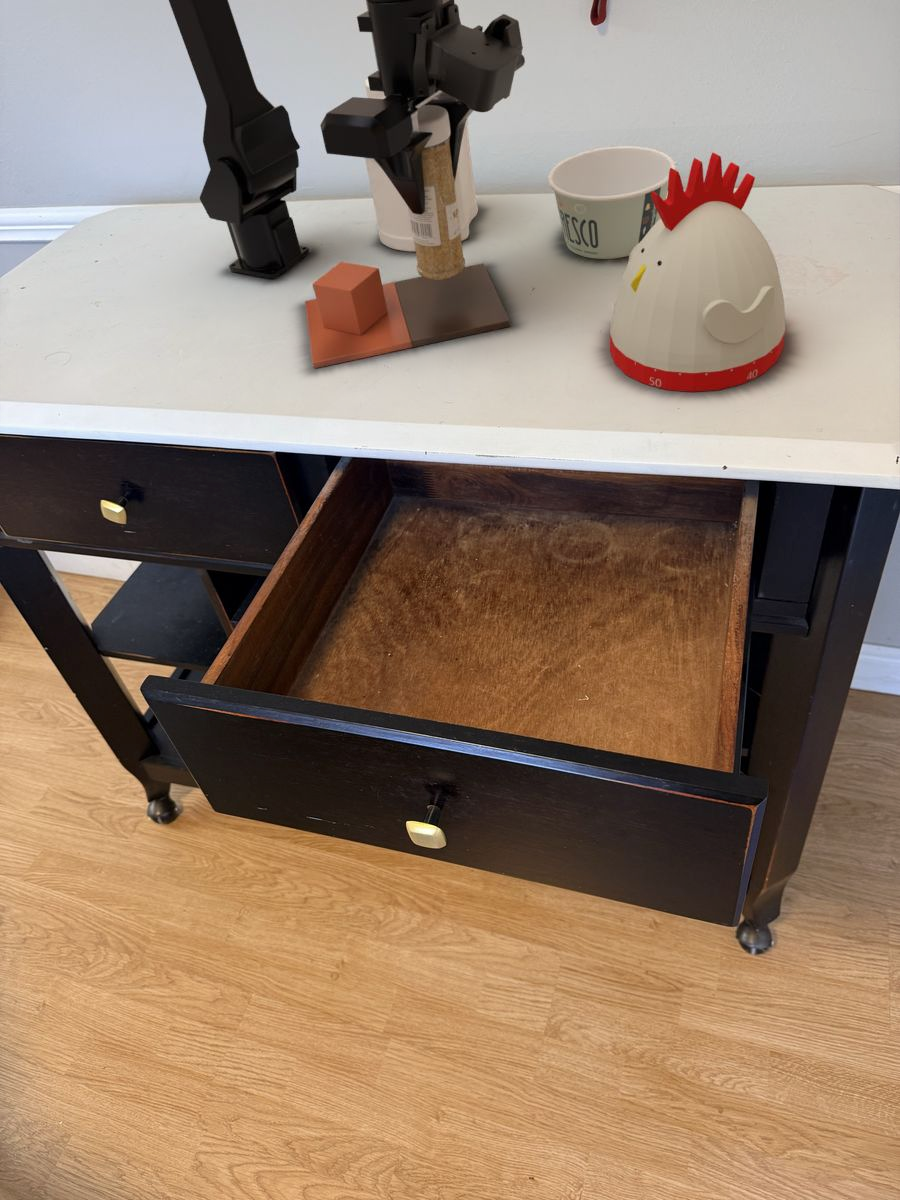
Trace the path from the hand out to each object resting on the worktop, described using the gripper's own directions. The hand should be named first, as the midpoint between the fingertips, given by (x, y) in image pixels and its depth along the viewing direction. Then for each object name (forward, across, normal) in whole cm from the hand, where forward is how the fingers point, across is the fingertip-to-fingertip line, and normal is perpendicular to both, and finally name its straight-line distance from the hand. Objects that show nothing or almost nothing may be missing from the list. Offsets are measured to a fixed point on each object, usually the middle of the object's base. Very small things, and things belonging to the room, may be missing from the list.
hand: (433, 201), depth 78 cm
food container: (+10, +17, -9) cm, 22 cm away
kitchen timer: (+10, +1, -24) cm, 26 cm away
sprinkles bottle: (+6, 0, 0) cm, 7 cm away
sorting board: (+10, -3, +3) cm, 11 cm away
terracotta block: (+9, -6, +6) cm, 13 cm away
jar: (+10, +14, +11) cm, 21 cm away
